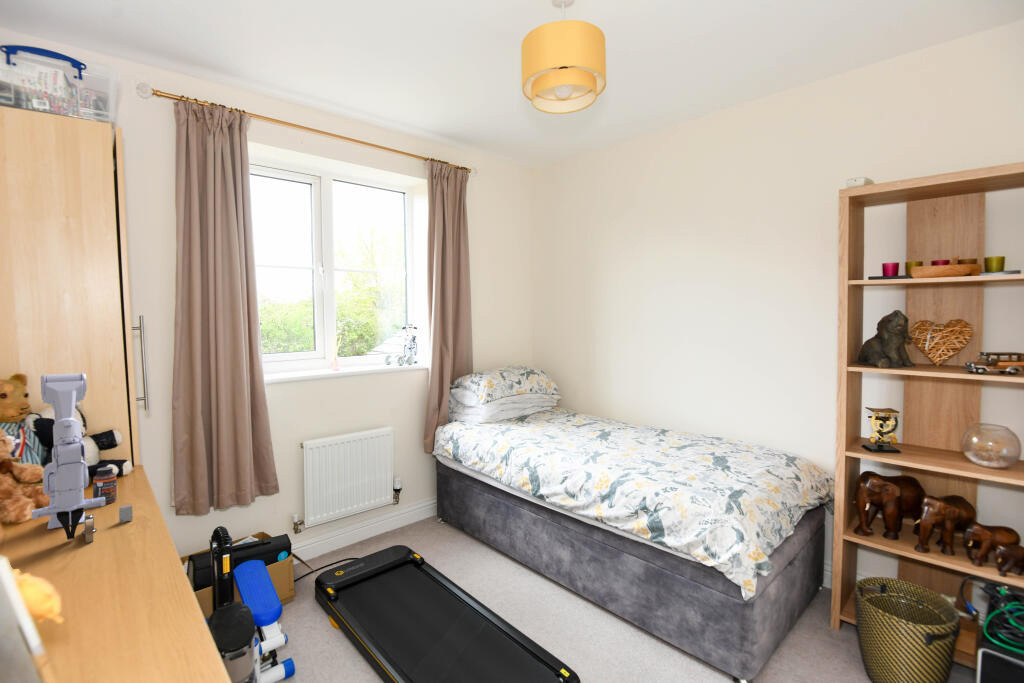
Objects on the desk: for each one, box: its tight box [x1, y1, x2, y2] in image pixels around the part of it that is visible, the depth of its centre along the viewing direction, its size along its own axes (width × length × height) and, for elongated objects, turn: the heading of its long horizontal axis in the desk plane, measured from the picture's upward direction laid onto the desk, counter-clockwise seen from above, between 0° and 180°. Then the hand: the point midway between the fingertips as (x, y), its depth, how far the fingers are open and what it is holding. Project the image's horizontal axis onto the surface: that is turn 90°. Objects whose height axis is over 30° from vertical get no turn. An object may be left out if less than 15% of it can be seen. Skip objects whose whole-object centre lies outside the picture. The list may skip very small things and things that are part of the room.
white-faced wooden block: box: [118, 504, 133, 524], centre depth 145 cm, size 2×3×4 cm, turn 131°
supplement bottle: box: [92, 466, 118, 505], centre depth 160 cm, size 6×6×11 cm
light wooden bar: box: [85, 519, 94, 544], centre depth 133 cm, size 8×2×4 cm, turn 41°
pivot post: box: [81, 514, 98, 535], centre depth 137 cm, size 3×3×4 cm
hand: (70, 537), depth 131 cm, fingers closed
